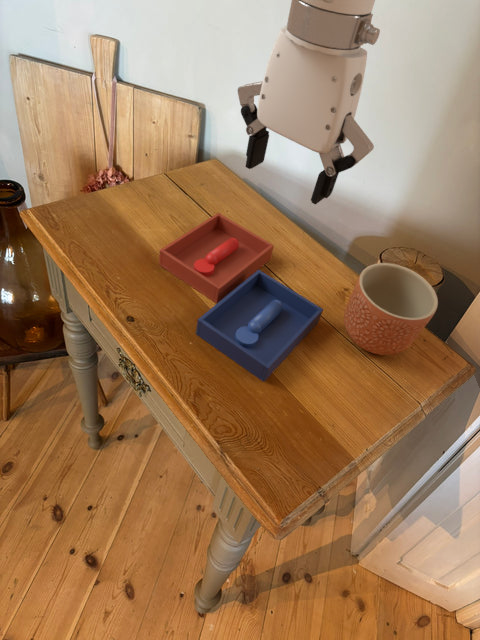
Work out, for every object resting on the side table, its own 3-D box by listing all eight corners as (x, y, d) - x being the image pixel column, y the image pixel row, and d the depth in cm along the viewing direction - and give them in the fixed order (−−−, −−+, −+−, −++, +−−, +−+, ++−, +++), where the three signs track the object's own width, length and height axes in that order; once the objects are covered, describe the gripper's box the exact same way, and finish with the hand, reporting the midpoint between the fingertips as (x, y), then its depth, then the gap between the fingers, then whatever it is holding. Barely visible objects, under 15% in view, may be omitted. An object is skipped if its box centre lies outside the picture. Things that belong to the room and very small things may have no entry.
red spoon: (227, 242, 88) (229, 232, 86) (242, 251, 87) (244, 241, 85) (189, 269, 81) (190, 258, 79) (205, 279, 80) (206, 269, 78)
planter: (374, 377, 72) (403, 332, 64) (321, 324, 78) (342, 276, 70) (423, 346, 78) (455, 302, 70) (370, 299, 84) (394, 253, 76)
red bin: (158, 265, 81) (159, 249, 79) (216, 227, 91) (218, 212, 89) (216, 303, 77) (219, 288, 75) (270, 259, 87) (274, 245, 84)
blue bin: (195, 334, 72) (197, 319, 70) (255, 283, 82) (258, 269, 79) (263, 382, 68) (268, 368, 65) (317, 323, 78) (323, 309, 75)
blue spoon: (269, 302, 79) (272, 292, 77) (287, 313, 77) (290, 304, 76) (230, 339, 72) (232, 329, 70) (248, 351, 71) (251, 342, 69)
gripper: (422, 49, 44) (360, 201, 56) (274, -8, 49) (247, 143, 62) (391, 64, 39) (330, 226, 52) (232, 0, 45) (212, 161, 57)
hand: (285, 181), depth 57 cm, fingers open, 9 cm apart
